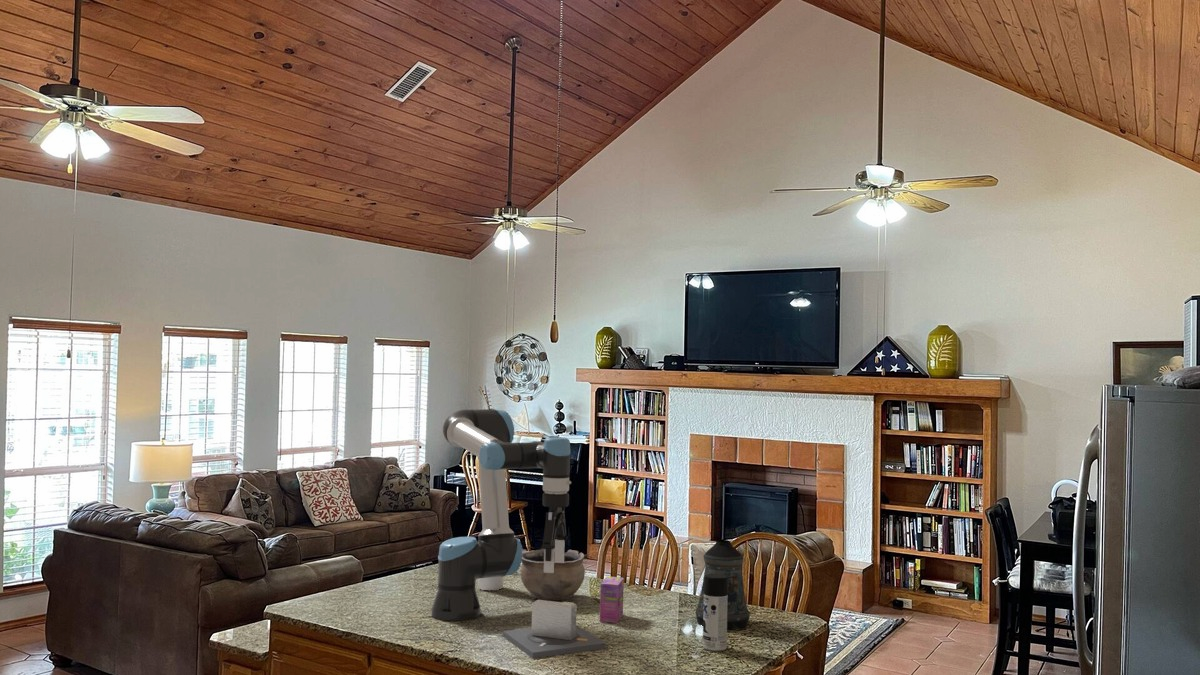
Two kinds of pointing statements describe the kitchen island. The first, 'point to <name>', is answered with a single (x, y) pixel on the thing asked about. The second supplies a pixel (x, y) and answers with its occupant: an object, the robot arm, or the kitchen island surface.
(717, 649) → the spray can
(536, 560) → the ceramic bowl
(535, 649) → the dial plate
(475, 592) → the robot arm
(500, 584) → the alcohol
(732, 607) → the beer stein
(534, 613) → the dial handle
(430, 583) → the kitchen island surface
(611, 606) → the box
